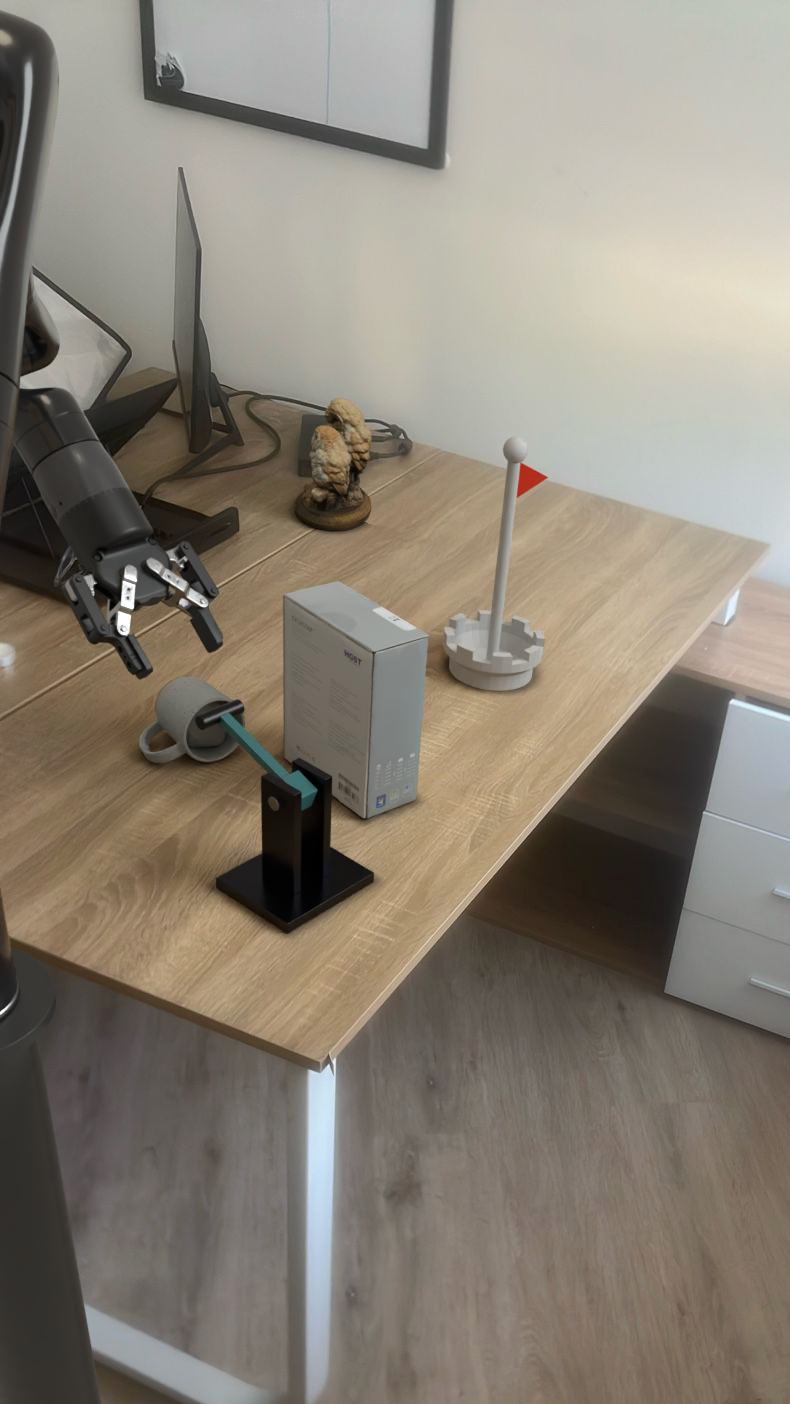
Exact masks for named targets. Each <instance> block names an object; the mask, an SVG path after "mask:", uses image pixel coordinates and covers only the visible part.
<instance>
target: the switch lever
mask: <svg viewBox="0 0 790 1404" xmlns="http://www.w3.org/2000/svg"><path fill="white" fill-rule="evenodd" d="M245 709H246V708H245V705H244V703H243V701H242V700H241V699H240V698H239V699H238V698H236V699H233V701H231V702H229V703H226V704H224V705H222V706H219V707H217V708H215V709H212V710H210V711H207V712H205V713H203V714H200V715H198V716H196V718H195V723H196V725H197V727H198V728H199V729H200V730H205V729H207V728H210V727H212V726H214V725H217V724H219V725H220V726H221V727H222V728H223V729H224V730H225V731H226V732H227V733H228V734H229V735H230V736H231V737H232V738H233V739H234V740H235V741H236V742H237V743H238V746H239V747H241V748H242V749H243V750H244V751H245V752H246V753H247V754H248V755H249V756H250V757H251V758H252V760H254V761H255V763H257V765H259V766H260V768H261V769H263V771H265V773H270V774H272V775H274V776H275V777H277V778H279V779H280V780H282V781H284V782H286V783H287V784H289V785H291V786H293V787H294V788H296V789H298V790H299V791H301V792H302V810H304V809H306V808H308V807H310V806H312V803H313V801H314V798H315V796H316V793H317V791H318V790H317V788H316V787H315V786H314V785H313V784H312V783H311V782H310V781H309V780H308V779H307V778H306V777H305V776H304V775H303V774H302V773H301V772H300V771H299V770H298V771H296V772H293V773H292V772H291V773H289V772H288V771H287V770H286V769H285V768H284V767H283V766H282V765H281V764H280V763H279V762H278V761H277V760H276V759H275V758H274V757H273V756H272V755H271V754H270V753H269V751H267V750H266V748H264V746H262V745H261V744H260V743H259V741H257V740H256V738H254V737H253V735H251V734H250V733H249V732H248V730H247V729H246V728H245V727H244V728H243V727H242V726H241V725H240V724H239V723H238V722H237V721H236V720H235V719H234V718H233V717H235V716H238V715H240V714H242V713H243V714H244V713H245Z"/></svg>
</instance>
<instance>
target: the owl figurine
mask: <svg viewBox="0 0 790 1404" xmlns="http://www.w3.org/2000/svg"><path fill="white" fill-rule="evenodd" d="M323 422H324V424H323V425H321V424H320V425H319V426H316V428H315V429H314V430H313V435H312V437H311V441H310V442H311V443H310V445H311V447H312V448H311V451H310V452H309V454H308V455H309V460H310V462H311V463H310V466H311V478H312V482H311V481H310V482H309V483H305V484H304V486H303V489H304V490H303V491H302V492H300V493H299V494H298V496H296V499H295V501H294V513H295V515H296V517H297V518H298V519H299V521H300V522H302V523H304V524H306V525H307V526H308V527H311V528H313V529H319V530H323V531H332V532H337V531H339V532H343V531H348V530H352V529H355V528H357V527H359V526H361V525H362V524H364V523H365V522H366V521H368V519H369V517H370V516H371V512H372V500H371V498H370V496H369V494H368V493H367V492H365V491H364V490H363V488H362V487H361V486H360V484H361V477H360V475H363V474H364V473H365V471H364V470H365V469H366V468H367V465H368V461H370V460H371V455H370V453H371V450H372V447H371V446H372V439H373V438H372V437H373V436H372V431H371V429H370V428H369V427H368V426H367V425H366V421H365V416H364V415H363V413H362V411H361V408H360V407H358V405H357V404H355V402H353V401H351V400H349V399H347V398H341V397H340V398H338V397H337V398H333V399H332V400H331V401H330V403H329V404H328V406H327V408H326V409H325V411H324V421H323Z"/></svg>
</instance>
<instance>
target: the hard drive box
mask: <svg viewBox="0 0 790 1404" xmlns="http://www.w3.org/2000/svg"><path fill="white" fill-rule="evenodd" d="M282 620H283V621H282V626H283V627H282V651H283V652H282V653H283V654H282V655H283V659H282V661H283V662H282V663H283V665H282V667H283V669H282V676H283V677H282V678H283V679H282V680H283V681H282V684H283V685H282V686H283V699H282V700H283V704H282V705H283V706H282V707H283V716H282V717H283V758H284V759H285V760H287V761H288V762H289V763H290V764H292V761H293V760H295V759H297V758H301V759H303V760H305V761H306V762H308V763H310V764H312V765H313V766H315V767H317V768H319V769H320V770H322V771H324V772H326V773H327V774H329V775H331V776H332V797H334V798H336V799H337V800H338V801H339V802H340V803H342V804H343V805H344V806H346V807H347V808H348V809H350V810H352V811H353V812H354V813H355V814H357V815H358V816H359V817H360V818H361V819H370V818H372V817H376V816H377V815H380V814H382V813H385V812H387V811H390V810H393V809H395V808H398V807H401V806H403V805H405V804H408V803H411V802H413V801H416V800H417V793H418V781H419V770H420V769H419V768H420V754H421V741H422V728H423V727H422V726H423V715H424V701H425V689H426V688H425V685H426V673H427V672H426V671H427V661H428V660H427V659H428V647H429V646H428V645H429V638H430V635H429V634H428V633H426V632H424V631H423V630H422V629H419V628H418V627H417V626H415V625H414V624H411V623H410V622H408V621H406V620H404V619H403V618H402V617H400V616H398V615H396V614H395V613H393V612H392V611H390V610H388V609H386V608H385V607H383V606H382V605H380V604H378V603H376V602H375V601H373V600H371V599H369V598H368V597H366V596H365V595H363V594H361V593H359V592H358V591H356V590H354V589H353V588H351V587H349V586H347V585H346V584H344V583H342V582H341V581H339V580H337V581H332V582H328V583H324V584H320V585H316V586H311V587H307V588H303V589H299V590H298V589H297V590H295V591H291V592H285V593H283V595H282Z"/></svg>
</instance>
